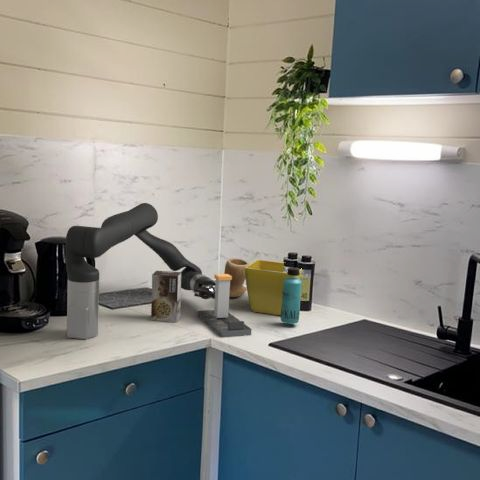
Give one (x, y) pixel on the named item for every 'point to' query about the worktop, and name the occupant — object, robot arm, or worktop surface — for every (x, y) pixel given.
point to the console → (224, 324)
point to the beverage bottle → (291, 297)
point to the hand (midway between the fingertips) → (220, 298)
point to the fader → (222, 295)
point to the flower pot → (266, 285)
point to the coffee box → (166, 296)
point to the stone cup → (236, 276)
